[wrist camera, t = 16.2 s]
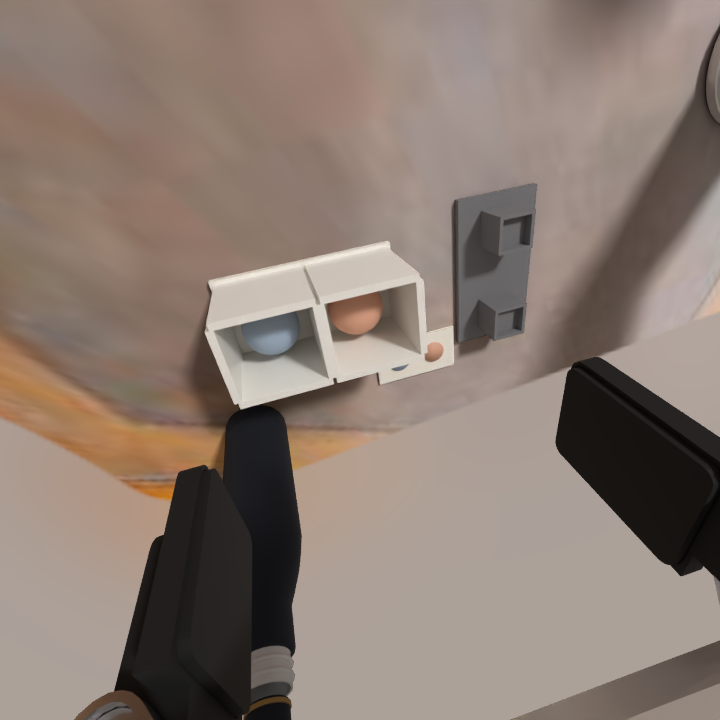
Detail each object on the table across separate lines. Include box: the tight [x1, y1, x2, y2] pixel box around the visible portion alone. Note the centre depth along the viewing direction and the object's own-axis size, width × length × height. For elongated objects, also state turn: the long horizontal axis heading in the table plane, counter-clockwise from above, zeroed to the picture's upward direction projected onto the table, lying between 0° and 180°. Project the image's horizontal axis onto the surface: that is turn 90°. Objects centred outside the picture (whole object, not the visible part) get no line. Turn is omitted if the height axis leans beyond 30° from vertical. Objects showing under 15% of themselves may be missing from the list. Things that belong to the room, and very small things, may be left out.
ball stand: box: [455, 183, 537, 342], centre depth 38 cm, size 8×15×4 cm, turn 9°
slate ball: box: [241, 311, 300, 355], centre depth 34 cm, size 5×5×5 cm
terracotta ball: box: [327, 291, 383, 335], centre depth 35 cm, size 5×5×5 cm
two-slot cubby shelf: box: [205, 241, 428, 409], centre depth 33 cm, size 16×8×9 cm, turn 99°
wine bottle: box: [223, 406, 302, 720], centre depth 30 cm, size 6×6×30 cm
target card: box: [378, 326, 454, 385], centre depth 43 cm, size 9×5×1 cm, turn 99°
